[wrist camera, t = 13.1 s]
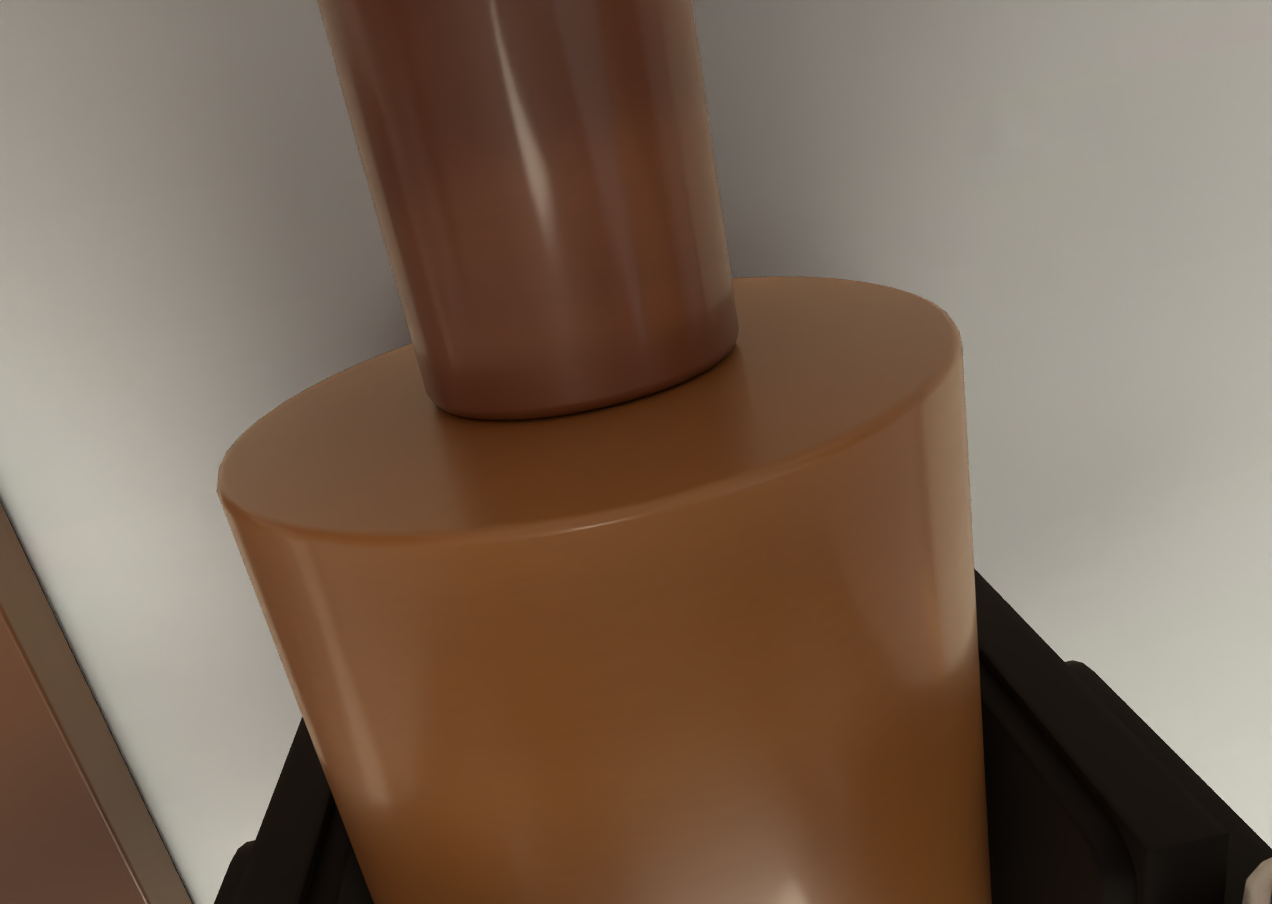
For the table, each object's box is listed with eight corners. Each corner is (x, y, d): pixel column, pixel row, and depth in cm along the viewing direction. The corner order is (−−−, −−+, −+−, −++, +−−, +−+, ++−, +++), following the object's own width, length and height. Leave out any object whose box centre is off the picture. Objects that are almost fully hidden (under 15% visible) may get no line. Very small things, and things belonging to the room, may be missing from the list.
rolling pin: (217, 4, 8) (-323, -147, 3) (803, -111, 8) (1155, -438, 3) (577, 1150, 13) (580, 1727, 8) (922, 1084, 13) (1115, 1628, 8)
